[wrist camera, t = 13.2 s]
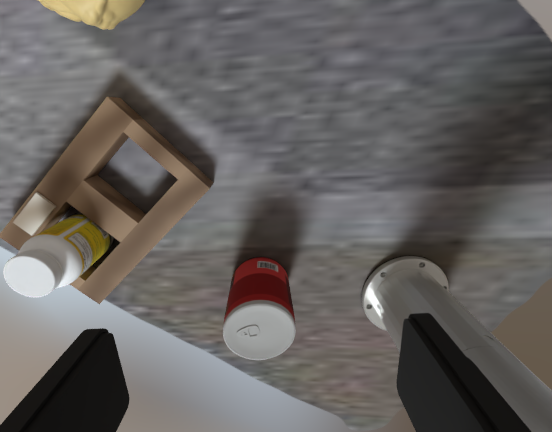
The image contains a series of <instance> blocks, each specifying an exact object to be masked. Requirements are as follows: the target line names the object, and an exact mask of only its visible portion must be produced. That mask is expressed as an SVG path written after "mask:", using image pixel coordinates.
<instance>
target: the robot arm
mask: <svg viewBox="0 0 552 432" xmlns="http://www.w3.org/2000/svg"><path fill="white" fill-rule="evenodd" d="M362 306H363V309H364V311H365V313H366V316H367V317H368V318H369V320H370V321H371V322H372V323H373V324H374V325H375V326H377V327H379V328H381V329H383V330H386V331H388V333H389V335H390V336H391V338H392V340H393V342H394V343H395V345H396V347H397V349H398V350H399V352H400V357H399V366H398V375H397V390H398V394H399V396H400V398H401V400H402V403H403V405H404V407H405V409H406V411H407V413H408V415H409V418H410V420H411V422H412V424H413V426H414V428H415V430H416V432H552V390H551V389H550V388H549V387H548V386H546V385H545V384H544V383H543V382H542V381H541V380H540V379H539V378H538V377H537V376H535V375H534V374H533V373H532V372H531V371H530V370H529V369H528V368H527V367H526V366H525V365H524V364H523V363H522V362H521V361H519V359H517V357H516V356H514V355H513V354H512V353H511V352H510V351H509V350H508V349H507V348H506V347H505V346H504V345H503V344H502V343H501V342H500V341H499V340H498V339H497V338H496V337H495V336H494V335H493V334H492V333H491V332H490V331H489V330H487V329H486V328H485V327H484V326H483V325H482V324H481V323H480V322H479V321H478V320H477V319H476V318H475V317H474V316H473V315H472V314H471V313H470V312H469V311H468V310H467V309H466V308H465V307H464V306H463V305H462V304H460V303H459V302H458V301H457V300H456V299H455V298H454V297H453V296H452V295H451V294H450V293H449V285H448V280H447V278H446V275H445V274H444V272H443V271H442V270H441V269H440V268H439V267H438V266H437V265H436V264H434V263H433V262H432V261H430V260H428V259H425V258H423V257H417V256H404V257H398V258H395V259H393V260H390V261H388V262H386V263H384V264H382V265H381V266H380V267H378V268H377V269H376V270H375V271H374V272H373V273H372V274H371V275H370V276H369V278H368V279H367V281H366V283H365V285H364V288H363V291H362ZM128 404H129V394H128V390H127V386H126V382H125V378H124V375H123V371H122V367H121V363H120V359H119V356H118V351H117V348H116V344H115V340H114V337H113V334H111V333H109V332H108V330H107V329H87V330H84V331H83V332H82V333H81V334H80V335H79V336H78V338H77V339H76V340H75V341H74V342H73V343H72V344H71V345H70V347H69V348H68V349H67V350H66V351H65V352H64V353H63V355H62V356H61V357H60V358H59V359H58V361H56V362H55V364H54V365H53V366H52V367H51V368H50V369H49V370H48V372H47V373H46V374H45V375H44V376H43V377H42V379H41V380H40V381H39V382H38V383H37V384H36V385H35V386H34V388H33V389H32V390H31V391H30V392H29V393H28V394H27V396H26V397H25V398H24V399H23V400H22V401H21V402H20V403H19V405H18V406H17V407H16V408H15V409H14V410H13V411H12V413H11V414H10V415H9V416H8V417H7V418H6V419H5V420H4V422H3V423H2V424H1V425H0V432H116V431H117V429H118V427H119V425H120V423H121V421H122V418H123V416H124V414H125V412H126V410H127V408H128Z"/></svg>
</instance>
